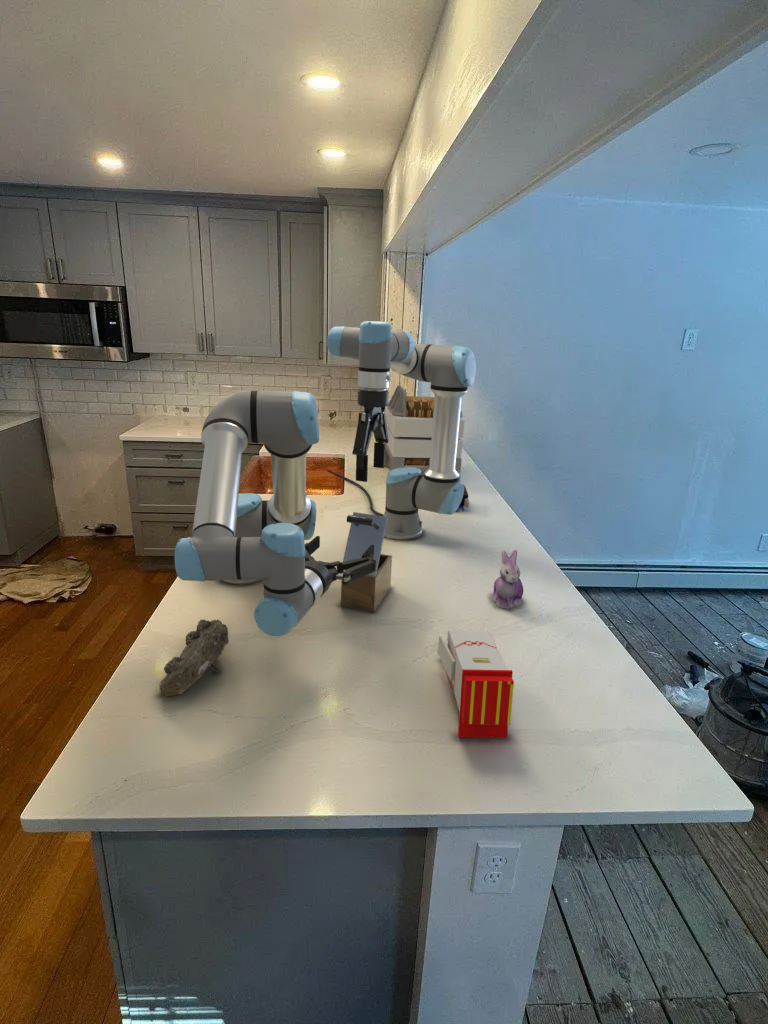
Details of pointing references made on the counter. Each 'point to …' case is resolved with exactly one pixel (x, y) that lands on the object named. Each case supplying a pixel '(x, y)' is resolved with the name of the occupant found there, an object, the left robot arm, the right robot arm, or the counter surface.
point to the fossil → (195, 656)
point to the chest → (368, 588)
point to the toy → (478, 682)
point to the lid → (365, 536)
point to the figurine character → (464, 500)
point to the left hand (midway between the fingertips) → (345, 545)
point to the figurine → (508, 583)
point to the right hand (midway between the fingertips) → (370, 474)
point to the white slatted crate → (412, 431)
